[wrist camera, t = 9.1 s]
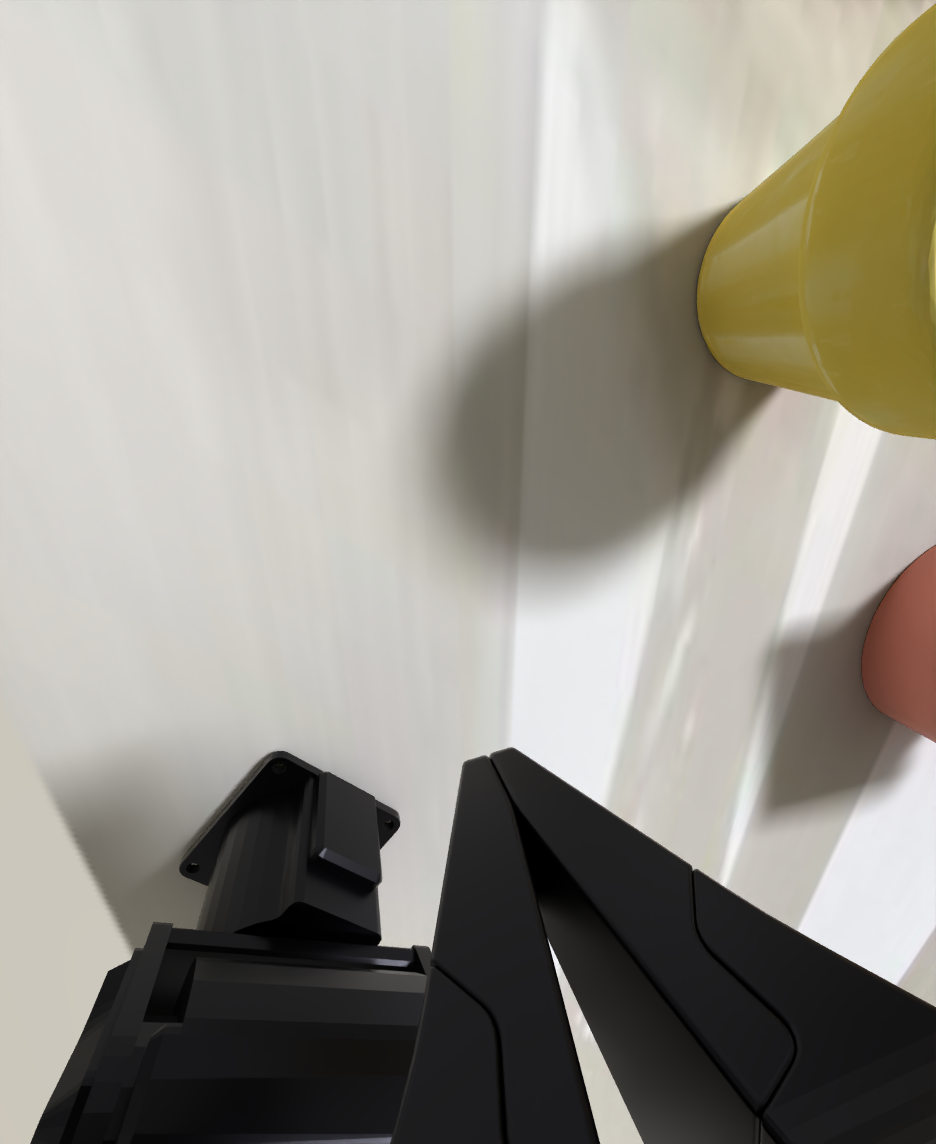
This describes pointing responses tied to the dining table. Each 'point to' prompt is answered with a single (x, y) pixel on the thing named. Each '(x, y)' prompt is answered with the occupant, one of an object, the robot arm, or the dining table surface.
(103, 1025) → the robot arm
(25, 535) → the dining table surface
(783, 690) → the dining table surface
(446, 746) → the dining table surface
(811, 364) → the plant pot
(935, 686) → the cooker pot
